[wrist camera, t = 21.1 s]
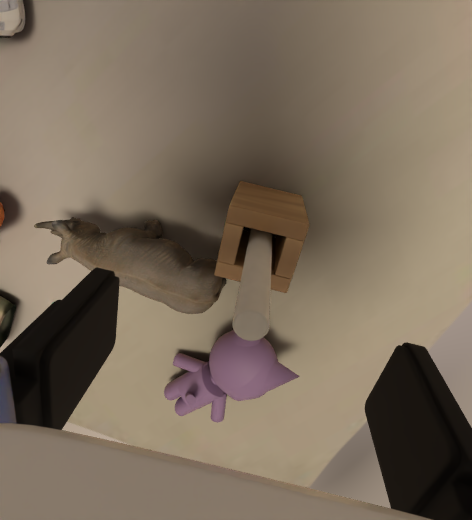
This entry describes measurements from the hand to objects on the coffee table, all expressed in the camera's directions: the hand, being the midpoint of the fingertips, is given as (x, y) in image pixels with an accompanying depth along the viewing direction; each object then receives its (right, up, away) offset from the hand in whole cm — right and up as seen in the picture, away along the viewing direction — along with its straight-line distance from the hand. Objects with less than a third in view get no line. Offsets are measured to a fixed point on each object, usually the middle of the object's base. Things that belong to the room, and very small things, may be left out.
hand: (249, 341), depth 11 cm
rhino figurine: (-7, +4, +15) cm, 17 cm away
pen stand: (+2, +6, +13) cm, 15 cm away
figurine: (-6, -10, +20) cm, 23 cm away
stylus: (+2, +6, +13) cm, 15 cm away
